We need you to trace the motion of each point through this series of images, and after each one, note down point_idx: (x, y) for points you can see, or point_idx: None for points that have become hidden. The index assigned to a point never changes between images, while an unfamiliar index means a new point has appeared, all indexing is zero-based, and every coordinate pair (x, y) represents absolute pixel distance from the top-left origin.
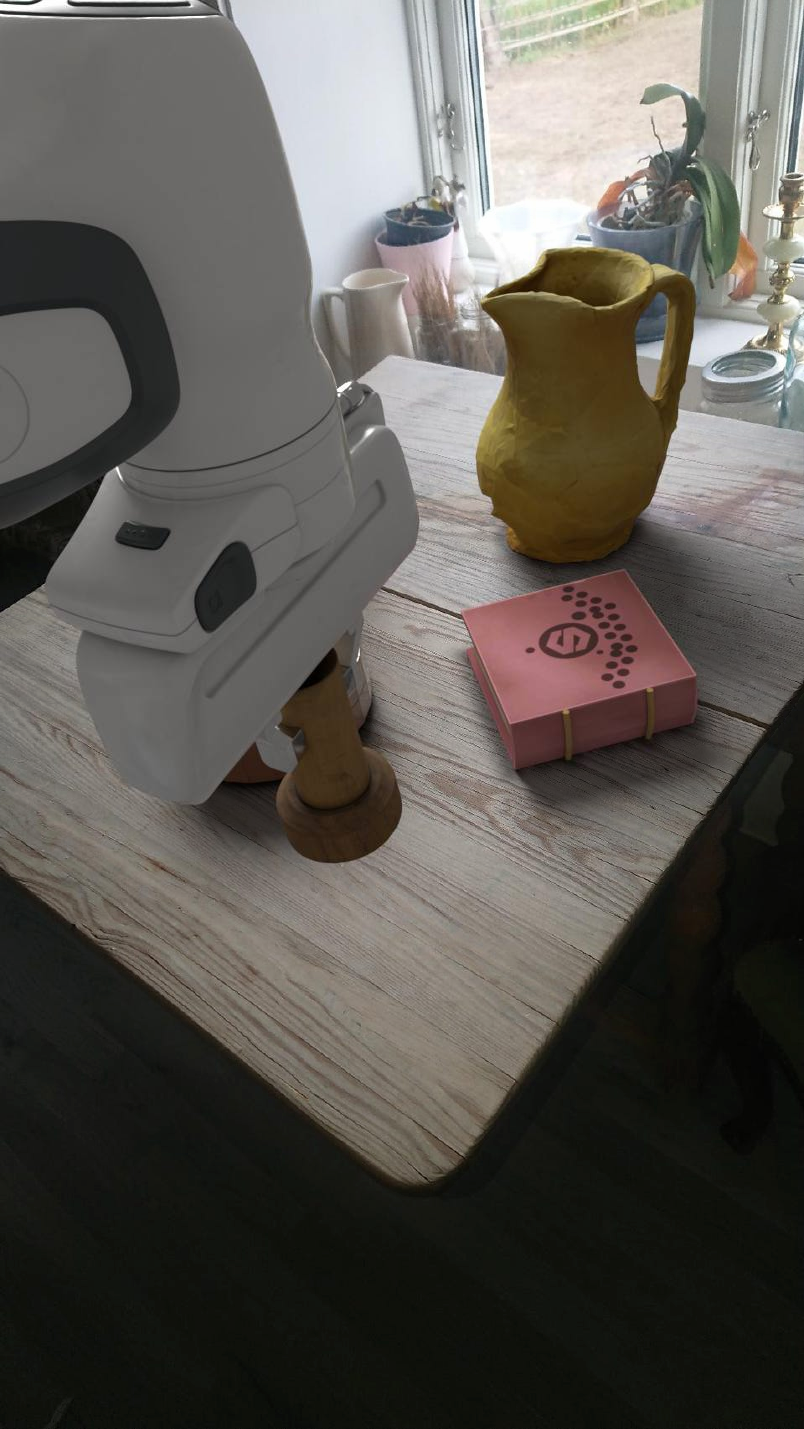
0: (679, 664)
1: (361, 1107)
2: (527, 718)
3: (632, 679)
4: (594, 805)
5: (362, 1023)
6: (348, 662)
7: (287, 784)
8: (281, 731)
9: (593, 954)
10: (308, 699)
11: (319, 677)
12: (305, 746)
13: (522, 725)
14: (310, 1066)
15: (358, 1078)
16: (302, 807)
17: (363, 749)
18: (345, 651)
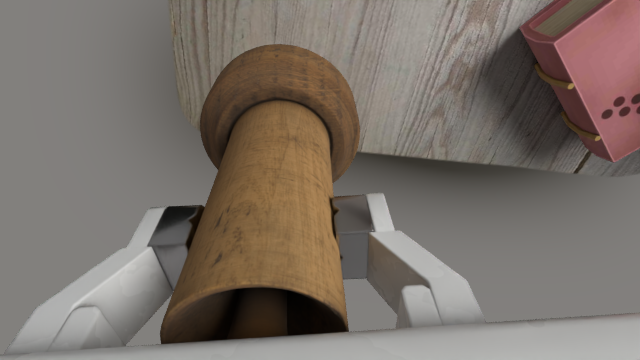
0: (629, 148)
1: (196, 73)
2: (561, 56)
3: (613, 121)
4: (486, 104)
5: (244, 38)
6: (372, 281)
7: (242, 97)
8: (174, 271)
9: (363, 149)
10: None
11: (293, 304)
12: None
13: (553, 52)
14: (194, 21)
15: (210, 60)
16: (222, 138)
17: (344, 151)
18: (384, 291)
